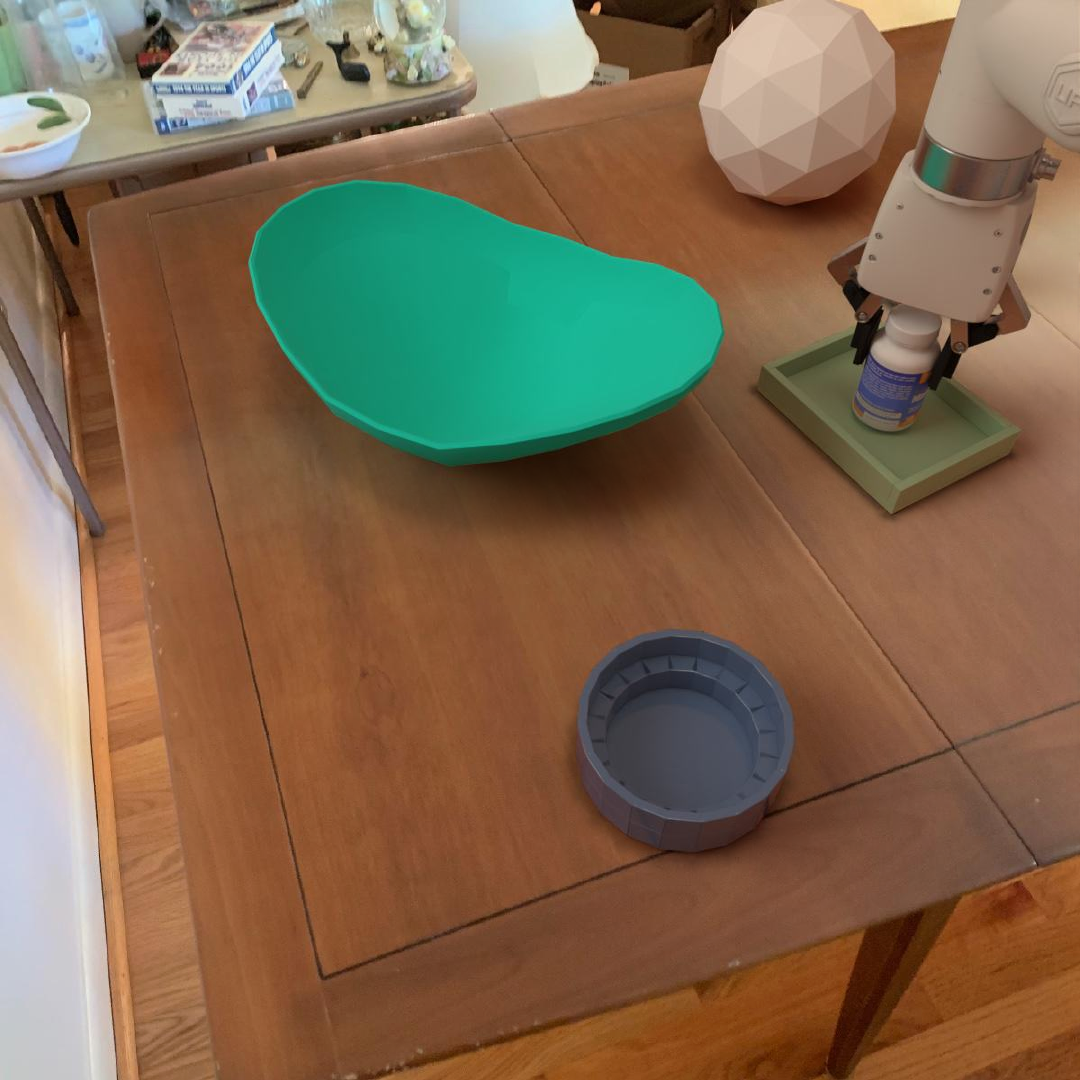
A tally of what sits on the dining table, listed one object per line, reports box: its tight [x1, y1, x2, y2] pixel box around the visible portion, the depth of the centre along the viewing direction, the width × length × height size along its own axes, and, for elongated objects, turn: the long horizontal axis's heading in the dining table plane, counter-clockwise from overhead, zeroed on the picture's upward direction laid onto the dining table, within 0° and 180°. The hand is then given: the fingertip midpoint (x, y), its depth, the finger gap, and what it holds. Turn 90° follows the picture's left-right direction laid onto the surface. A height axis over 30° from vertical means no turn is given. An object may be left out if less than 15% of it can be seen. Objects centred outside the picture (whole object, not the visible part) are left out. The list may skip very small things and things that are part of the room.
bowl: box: [575, 628, 796, 853], centre depth 62 cm, size 13×13×5 cm
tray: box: [756, 320, 1022, 515], centre depth 82 cm, size 17×13×3 cm
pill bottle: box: [853, 304, 943, 432], centre depth 79 cm, size 5×5×10 cm
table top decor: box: [247, 179, 726, 467], centre depth 80 cm, size 40×28×13 cm
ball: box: [698, 0, 897, 207], centre depth 99 cm, size 19×20×20 cm
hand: (899, 365), depth 79 cm, fingers closed on pill bottle, 5 cm apart
